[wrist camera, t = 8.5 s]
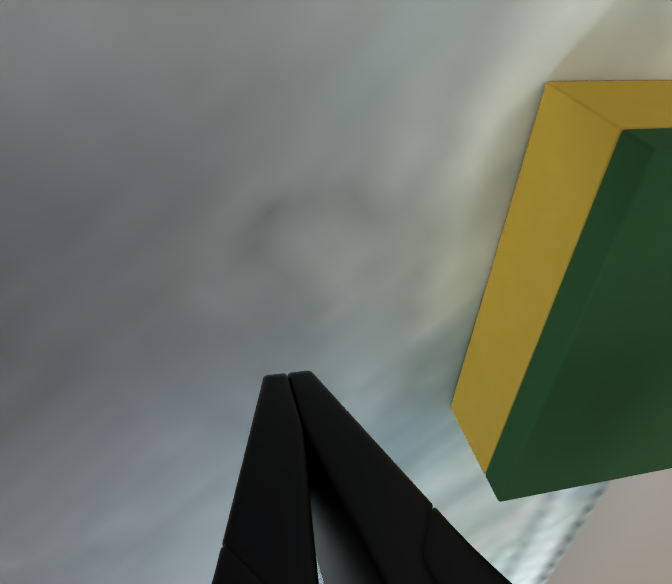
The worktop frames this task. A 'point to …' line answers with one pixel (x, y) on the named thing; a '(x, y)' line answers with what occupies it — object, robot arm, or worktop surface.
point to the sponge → (579, 299)
